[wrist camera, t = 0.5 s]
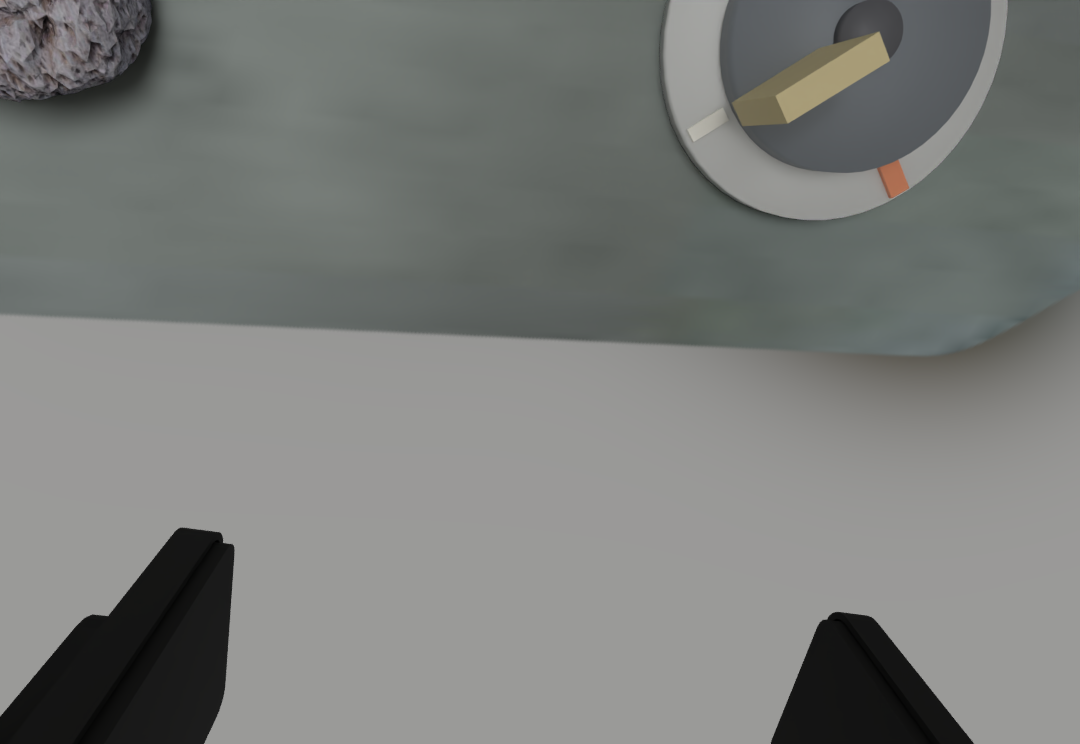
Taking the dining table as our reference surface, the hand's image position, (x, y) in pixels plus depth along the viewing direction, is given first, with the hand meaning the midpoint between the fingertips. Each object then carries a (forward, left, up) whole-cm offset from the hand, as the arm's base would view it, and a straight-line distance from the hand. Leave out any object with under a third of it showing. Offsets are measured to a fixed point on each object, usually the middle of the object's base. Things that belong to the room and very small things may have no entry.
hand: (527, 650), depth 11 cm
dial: (-19, +7, -26) cm, 33 cm away
